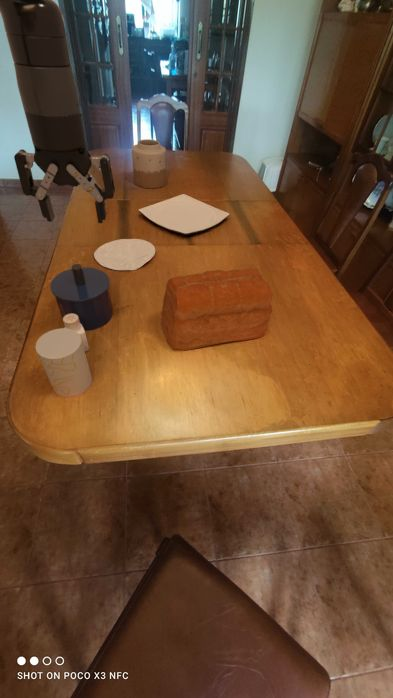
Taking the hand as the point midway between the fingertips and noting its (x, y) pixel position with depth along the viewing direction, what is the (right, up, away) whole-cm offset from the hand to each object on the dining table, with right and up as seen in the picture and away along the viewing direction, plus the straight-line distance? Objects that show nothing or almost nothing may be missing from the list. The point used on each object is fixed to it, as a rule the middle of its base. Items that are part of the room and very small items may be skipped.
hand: (76, 220), depth 56 cm
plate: (+16, +30, +72) cm, 79 cm away
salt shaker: (-7, -23, +20) cm, 31 cm away
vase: (-1, +57, +96) cm, 111 cm away
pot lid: (-7, -7, +21) cm, 23 cm away
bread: (+26, -17, +28) cm, 42 cm away
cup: (-6, -30, +13) cm, 33 cm away
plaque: (-3, +9, +50) cm, 51 cm away
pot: (-8, -13, +28) cm, 32 cm away
